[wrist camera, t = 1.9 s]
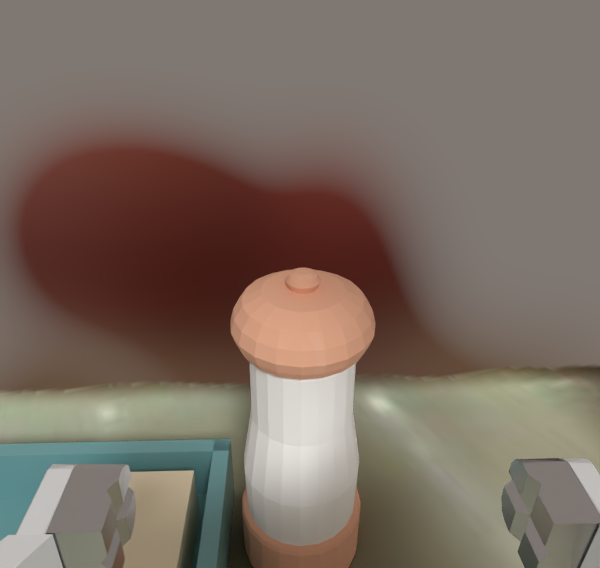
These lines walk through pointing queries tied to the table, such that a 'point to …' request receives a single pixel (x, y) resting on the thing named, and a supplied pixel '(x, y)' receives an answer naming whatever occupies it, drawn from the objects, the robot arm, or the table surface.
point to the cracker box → (163, 520)
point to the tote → (141, 458)
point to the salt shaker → (301, 417)
